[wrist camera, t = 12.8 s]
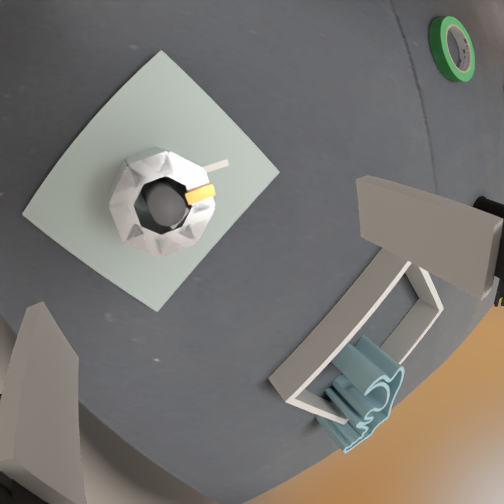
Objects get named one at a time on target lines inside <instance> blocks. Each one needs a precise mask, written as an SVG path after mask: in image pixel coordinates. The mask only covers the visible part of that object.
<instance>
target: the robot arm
mask: <svg viewBox="0 0 504 504" xmlns="http://www.w3.org/2000/svg"><path fill="white" fill-rule="evenodd" d="M356 186H357V196H358V206H359V217H360V230H361V237H362V238H364V239H366V240H368V241H370V242H372V243H374V244H376V245H378V246H380V247H382V248H384V249H386V250H388V251H390V252H392V253H394V254H396V255H398V256H400V257H402V258H404V259H405V260H407V261H409V262H411V263H413V264H415V265H417V266H419V267H421V268H422V269H424V270H426V271H428V272H430V273H432V274H434V275H435V276H437V277H439V278H441V279H443V280H445V281H446V282H448V283H450V284H452V285H454V286H455V287H457V288H459V289H461V290H462V291H464V292H466V293H468V294H469V295H471V296H473V297H475V298H476V299H478V300H480V301H482V300H483V299H484V298H485V297H486V296H487V295H488V294H489V293H490V292H491V289H492V284H493V280H494V276H496V277H498V278H500V280H499V285H498V289H497V293H496V297H495V301H494V304H495V306H496V307H497V306H498V302H499V299H500V298H502V297H503V298H502V302H501V306H504V222H503V218H500V217H498V216H495V215H492V214H490V213H487V212H484V211H482V210H479V209H476V208H473V207H471V206H468V205H465V204H462V203H459V202H456V201H453V200H450V199H447V198H444V197H441V196H438V195H435V194H432V193H429V192H426V191H422V190H419V189H416V188H413V187H409V186H406V185H402V184H399V183H396V182H392V181H388V180H385V179H381V178H378V177H374V176H370V175H367V176H364V177H361V178H358V179H356ZM78 361H79V357H78V356H77V354H76V353H75V351H74V350H73V348H72V347H71V345H70V344H69V342H68V341H67V339H66V338H65V336H64V335H63V333H62V332H61V330H60V328H59V327H58V325H57V324H56V322H55V320H54V319H53V317H52V315H51V314H50V312H49V310H48V309H47V307H46V305H45V303H44V302H43V301H42V302H39V303H37V304H35V305H33V306H30V307H28V308H27V309H26V312H25V315H24V318H23V321H22V324H21V327H20V330H19V333H18V336H17V339H16V342H15V346H14V349H13V352H12V356H11V359H10V363H9V367H8V370H7V374H6V378H5V382H4V387H3V391H2V394H0V504H86V497H85V490H84V482H83V473H82V464H81V453H80V439H79V418H78Z"/></svg>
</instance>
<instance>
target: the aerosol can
mask: <svg viewBox="0 0 504 504" xmlns="http://www.w3.org/2000/svg"><path fill="white" fill-rule="evenodd" d="M473 208H476V209H479V210H482V211H484V212H487V213H490V214H492V215H495V216H498V217H500V218H503V222H504V205H503V204H500V203H497V202H494V201H492V200H489V199H486V198H485V197H484V196H481V197H479V198H478V199H477V201H476V202H475V204H474V206H473Z"/></svg>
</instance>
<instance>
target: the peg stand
mask: <svg viewBox="0 0 504 504" xmlns="http://www.w3.org/2000/svg"><path fill="white" fill-rule="evenodd" d="M155 147H157V148H158V147H159V148H162V149H165V150H168V151H171V152H173V153H175V154H177V155H179V156H181V157H183V158H185V159H187V160H188V161H190V162H192V163H194V164H196V165H198V166H200V167H202V168H204V169H203V170H205V171H206V174H207V178H208V181H209V183H212V184H213V186H214V190H215V194H216V195H215V196H213V199H214V203H215V207H213V208H215V210H214V212H213V214H212V216H211V218H210V220H209V222H208V223H207V225H206V227H205V229H204V231H203V233H202V235H201V237H200V239H199V241H198V242H196V241H195V242H196V244H194V245H192V246H189V247H187V248H184V249H182V250H179V251H177V252H174V253H172V254H169V255H167V256H165V257H162V258H161V256H159V258H158V257H155V256H153V255H150V254H148V253H145V252H143V251H140V250H138V249H135V248H133V247H130V246H128V245H125V244H124V242H122V239H121V237H120V234H119V232H118V229H117V227H116V224H115V222H114V219H113V216H112V214H111V211H110V208H109V194H110V187H111V185H112V183H113V181H114V179H115V177H116V175H117V172H118V170H119V168H120V166H121V164H122V162H123V160H126V158H127V157H129V156H132V155H135V154H138V153H140V152H143V151H146V150H149V149H152V148H155ZM278 174H279V171H278V170H277V169H276V167H275V166H274V165H273V164H272V163H271V162H270V161H269V160H268V158H267V157H266V156H265V155H264V154H263V153H262V152H261V151H260V150H259V149H258V147H257V146H256V145H255V144H254V143H253V142H252V141H251V140H250V139H249V138H248V137H247V136H246V134H245V133H244V132H243V131H242V130H241V129H240V128H239V127H238V126H237V125H236V124H235V123H234V122H233V121H232V120H231V119H230V118H229V116H228V115H227V114H226V113H225V112H224V111H223V110H222V109H221V108H220V107H219V106H218V105H217V104H216V103H215V102H214V101H213V100H212V99H211V98H210V97H209V96H208V95H207V94H206V93H205V92H204V91H203V90H202V89H201V88H200V87H199V86H198V85H197V84H196V83H195V82H194V81H193V80H192V79H191V78H190V77H189V76H188V75H187V74H186V73H185V72H184V71H183V70H182V69H181V68H180V67H179V66H178V65H177V64H176V63H175V62H173V61H172V60H171V59H170V58H169V57H168V56H167V55H166V54H165V53H164V52H163V51H162V50H161V51H160V52H159V53H157V54H156V55H155V56H154V57H153V58H152V59H151V60H150V61H149V62H148V63H146V64H145V65H144V66H143V67H142V68H141V69H140V70H139V71H138V72H137V73H136V74H135V75H134V76H133V77H132V78H131V79H130V80H129V81H128V82H127V83H126V84H125V85H124V86H123V87H122V88H121V89H120V90H119V91H118V92H117V93H116V94H115V95H114V96H113V97H112V98H111V99H110V100H109V101H108V102H107V103H106V105H105V106H104V107H103V108H102V109H101V110H100V111H99V112H98V113H97V115H96V116H95V117H94V118H93V119H92V120H91V121H90V123H89V124H88V125H87V126H86V127H85V128H84V130H83V131H82V132H81V133H80V134H79V136H78V137H77V138H76V139H75V140H74V142H73V143H72V144H71V145H70V147H69V148H68V149H67V151H66V152H65V153H64V154H63V156H62V157H61V158H60V160H59V161H58V162H57V164H56V165H55V166H54V168H53V169H52V170H51V172H50V173H49V175H48V176H47V177H46V179H45V180H44V182H43V183H42V185H41V186H40V188H39V189H38V190H37V192H36V193H35V195H34V196H33V198H32V199H31V201H30V203H29V204H28V206H27V207H26V209H25V210H24V212H23V214H22V215H23V216H24V217H26V218H27V219H28V220H29V221H31V222H32V223H33V224H34V225H35V226H37V227H38V228H39V229H41V230H42V231H43V232H44V233H46V234H47V235H48V236H49V237H51V238H52V239H53V240H55V241H56V242H57V243H59V244H60V245H61V246H62V247H64V248H65V249H66V250H68V251H69V252H70V253H72V254H73V255H75V256H76V257H77V258H79V259H80V260H81V261H83V262H84V263H85V264H87V265H88V266H90V267H91V268H92V269H94V270H95V271H97V272H98V273H100V274H101V275H102V276H104V277H105V278H107V279H108V280H110V281H111V282H112V283H114V284H115V285H117V286H118V287H120V288H121V289H123V290H124V291H126V292H127V293H129V294H130V295H132V296H133V297H135V298H136V299H138V300H139V301H141V302H143V303H144V304H146V305H147V306H149V307H150V308H152V309H153V310H155V311H157V312H158V311H159V309H160V308H161V307H162V306H163V305H164V303H165V302H166V301H167V300H168V299H169V298H170V296H171V295H172V294H173V293H174V292H175V290H176V289H177V288H178V287H179V286H180V285H181V283H182V282H183V281H184V280H185V279H186V278H187V276H188V275H189V274H190V273H191V272H192V271H193V269H194V268H195V267H196V266H197V265H198V264H199V262H200V261H201V260H202V259H203V258H204V257H205V256H206V254H207V253H208V252H209V251H210V250H211V249H212V247H213V246H214V245H215V244H216V243H217V242H218V241H219V239H220V238H221V237H222V236H223V235H224V234H225V233H226V232H227V230H228V229H229V228H230V227H231V226H232V225H233V224H234V222H235V221H236V220H237V219H238V218H239V217H240V216H241V215H242V213H243V212H244V211H245V210H246V209H247V208H248V207H249V206H250V204H251V203H252V202H253V201H254V200H255V199H256V198H257V197H258V196H259V194H260V193H261V192H262V191H263V190H264V189H265V188H266V187H267V186H268V185H269V183H270V182H271V181H272V180H273V179H274V178H275V177H276V176H277V175H278ZM134 205H135V207H136V208H138V209H140V210H143V211H145V212H147V213H150V214H151V215H152V217H153V218H154V220H155V221H156V222H157V223H158V224H160V225H163V226H170V227H171V228H172V229H173V230H174V229H175V228H176V226H177V225H178V224H179V223H180V222H181V221H182V219H183V218H184V217H185V216H186V215H187V214H188V213H189V211H190V210H189V209H188V208H187V207H186V206H185V202H184V200H183V198H182V197H181V196H180V195H179V194H178V193H177V192H176V190H175V186H174V183H173V180H172V179H171V178H169V177H167V176H164V177H162V178H159V179H156V180H153V181H151V182H148V183H145V184H144V185H143V187H142V189H141V191H140V193H139V195H138V197H137V199H136V201H135V203H134Z"/></svg>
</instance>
